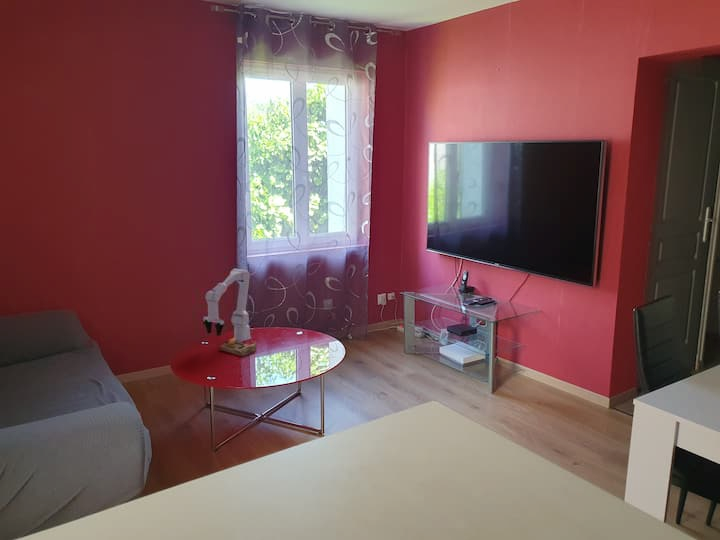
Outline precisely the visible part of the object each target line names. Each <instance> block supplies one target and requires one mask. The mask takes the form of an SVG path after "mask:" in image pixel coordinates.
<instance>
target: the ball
mask: <svg viewBox="0 0 720 540" xmlns="http://www.w3.org/2000/svg"><path fill="white" fill-rule="evenodd" d="M228 343H229V344H230V345H233V344H234V343H235V340H234V339H233V338H230V339H229V340H228Z"/></svg>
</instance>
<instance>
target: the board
mask: <svg viewBox="0 0 720 540" xmlns="http://www.w3.org/2000/svg"><path fill="white" fill-rule="evenodd" d="M219 351H223V352H226V353H229V354H233V355H237V356H241V357H244V356H248V355H250V354H253V353H254V352H257V343H256V342H255V343H253V344H247V343H243V342H238V341H235V343H234V344H233V345H230V344H229V342H227V343H226V342H225V343H222V344H221V345H219Z"/></svg>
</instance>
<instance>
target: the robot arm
mask: <svg viewBox="0 0 720 540" xmlns="http://www.w3.org/2000/svg"><path fill="white" fill-rule="evenodd" d="M250 276H251V273H250V272H249V271H248V270H247V269H240V268H235V267H234V268H233V269H232V270H230V273H229V275H228V276H227V277H226V278H225V280H224V281H223V282H219V283H217V285H216V286H214V288H212V289H211V290H208V291H207V292H206V293H205V296H204V299H205V300H206V303H207V315H208V316H203V322H202V323H203V325H204V326H205V329H206V332H207V334H208V335H209V334H212V326H213V325H212V324H213V323H215V324H214V327H215V330H216V331H215V333H216V336H217V337H220V336H221V334H222V330H223V328H224V326H225V321H224V320H223V319H221V318H220V317H219V301H220V299H221V297H222V296H223V294H224V293H226V292H227V289H228V287H229V286H230V285H231V284H233V283H234V282H235V281H236V282H237V283H238V284H239V287H238V295H237V305H236V309H235V310H234V311H233V312H232V315H231V318H230V321H231V323H232V325H233V326H234V327H233V328H234V329H233V330H234V331H233V332H234V337H232V339H234V340H235V341H236V342H240V343H243V342H245V341H249V340H250V339H252V337H251V327H250V325H249V323H250V317H249V315H250V314H249V313H248V312H247V311H246V310H247V309H246V308H247V301H248V293H249V292H248V291H249V286H250Z"/></svg>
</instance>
